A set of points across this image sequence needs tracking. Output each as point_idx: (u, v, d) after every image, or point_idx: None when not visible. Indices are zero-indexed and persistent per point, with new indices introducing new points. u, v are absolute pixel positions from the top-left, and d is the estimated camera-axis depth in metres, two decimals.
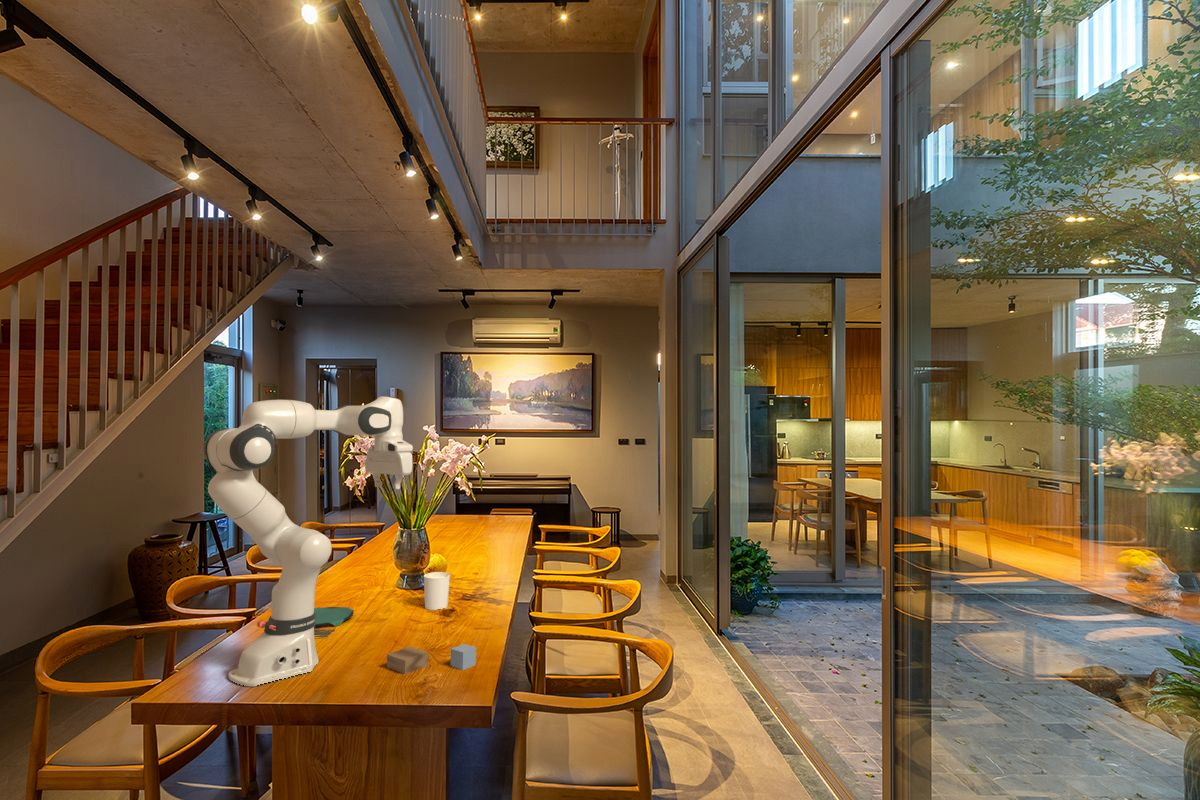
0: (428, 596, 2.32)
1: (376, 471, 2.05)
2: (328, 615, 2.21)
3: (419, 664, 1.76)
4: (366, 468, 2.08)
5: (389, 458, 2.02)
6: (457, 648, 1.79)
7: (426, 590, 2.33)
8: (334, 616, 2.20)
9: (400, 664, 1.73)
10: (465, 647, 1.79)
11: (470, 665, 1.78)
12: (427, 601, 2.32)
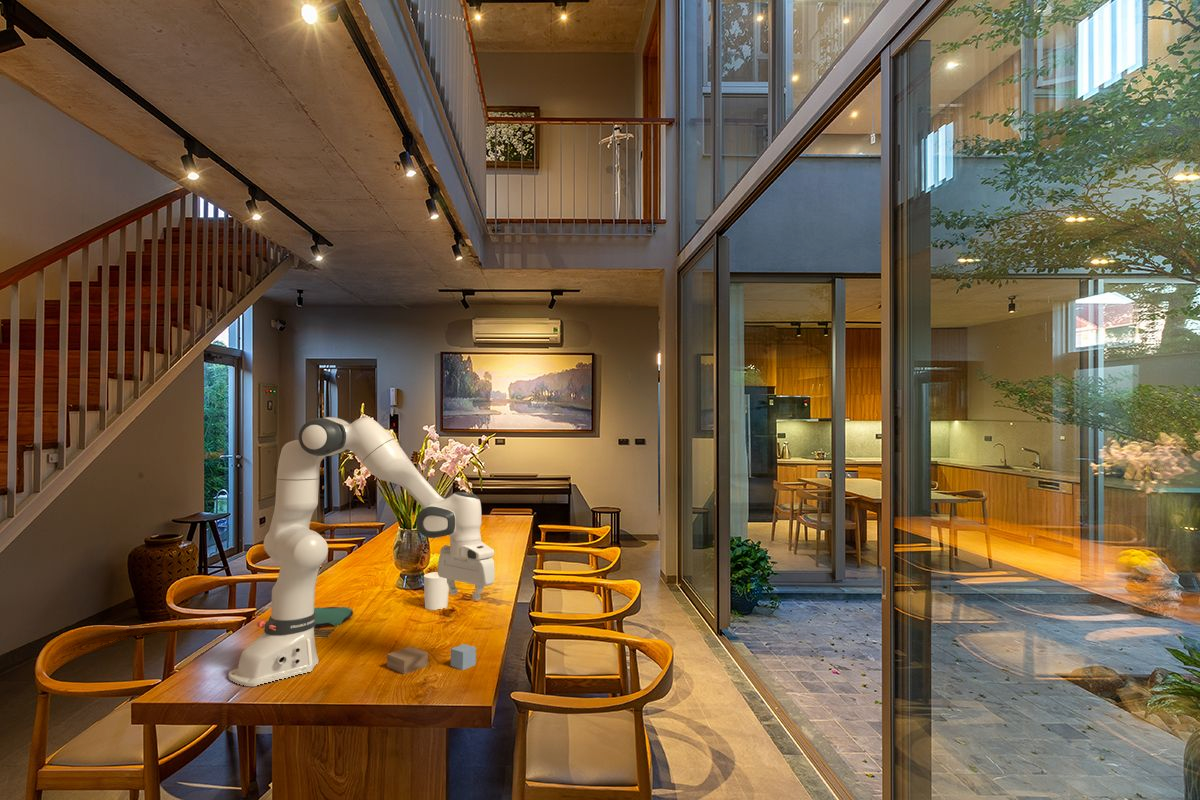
0: (428, 596, 2.32)
1: (452, 578, 1.81)
2: (327, 615, 2.21)
3: (419, 664, 1.76)
4: (439, 572, 1.84)
5: (468, 565, 1.77)
6: (457, 648, 1.79)
7: (426, 590, 2.33)
8: (334, 616, 2.20)
9: (399, 664, 1.73)
10: (465, 647, 1.79)
11: (470, 665, 1.78)
12: (427, 601, 2.32)
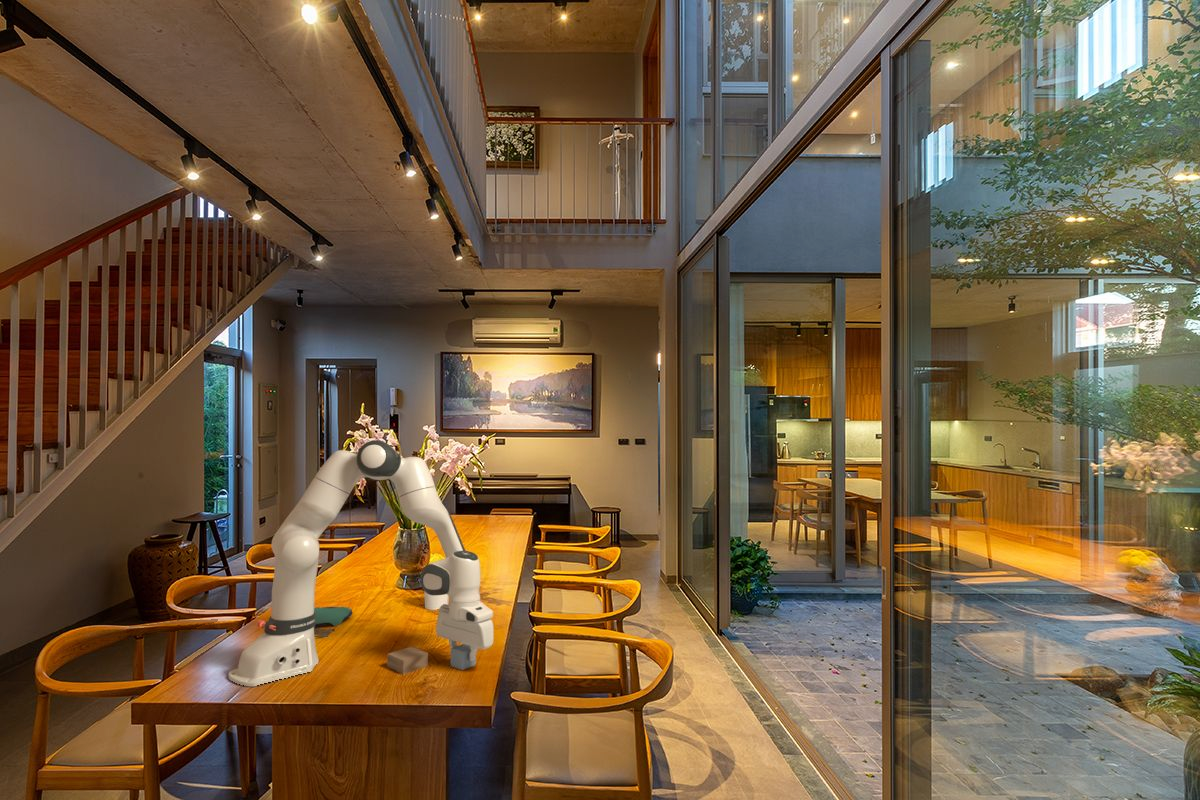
0: (428, 596, 2.32)
1: (450, 638, 1.80)
2: (327, 615, 2.21)
3: (418, 664, 1.76)
4: (437, 632, 1.83)
5: (466, 626, 1.77)
6: (457, 648, 1.79)
7: None
8: (333, 616, 2.20)
9: (399, 664, 1.73)
10: (465, 647, 1.79)
11: (470, 665, 1.78)
12: (427, 601, 2.32)
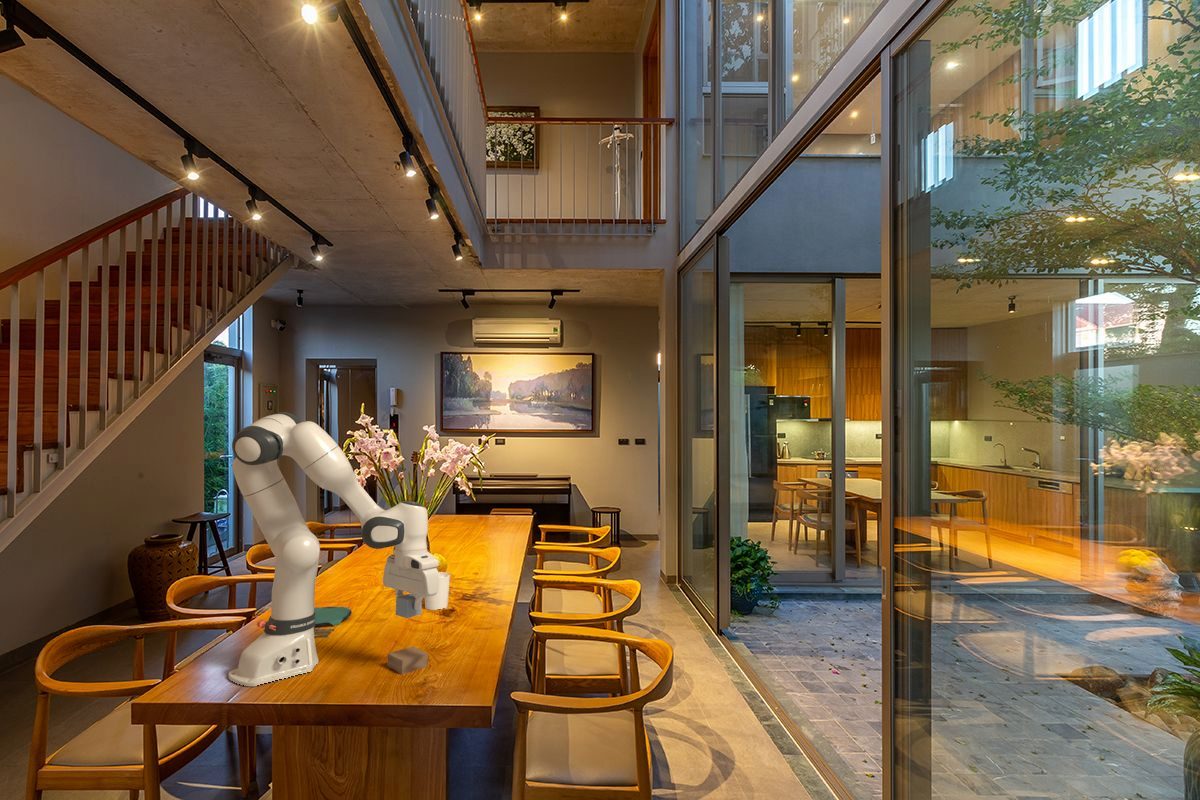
0: None
1: (396, 587, 1.79)
2: (326, 615, 2.21)
3: (418, 664, 1.76)
4: (384, 582, 1.82)
5: (412, 574, 1.76)
6: (402, 597, 1.78)
7: None
8: (332, 616, 2.20)
9: (398, 663, 1.73)
10: (411, 596, 1.79)
11: (415, 614, 1.77)
12: (427, 601, 2.32)
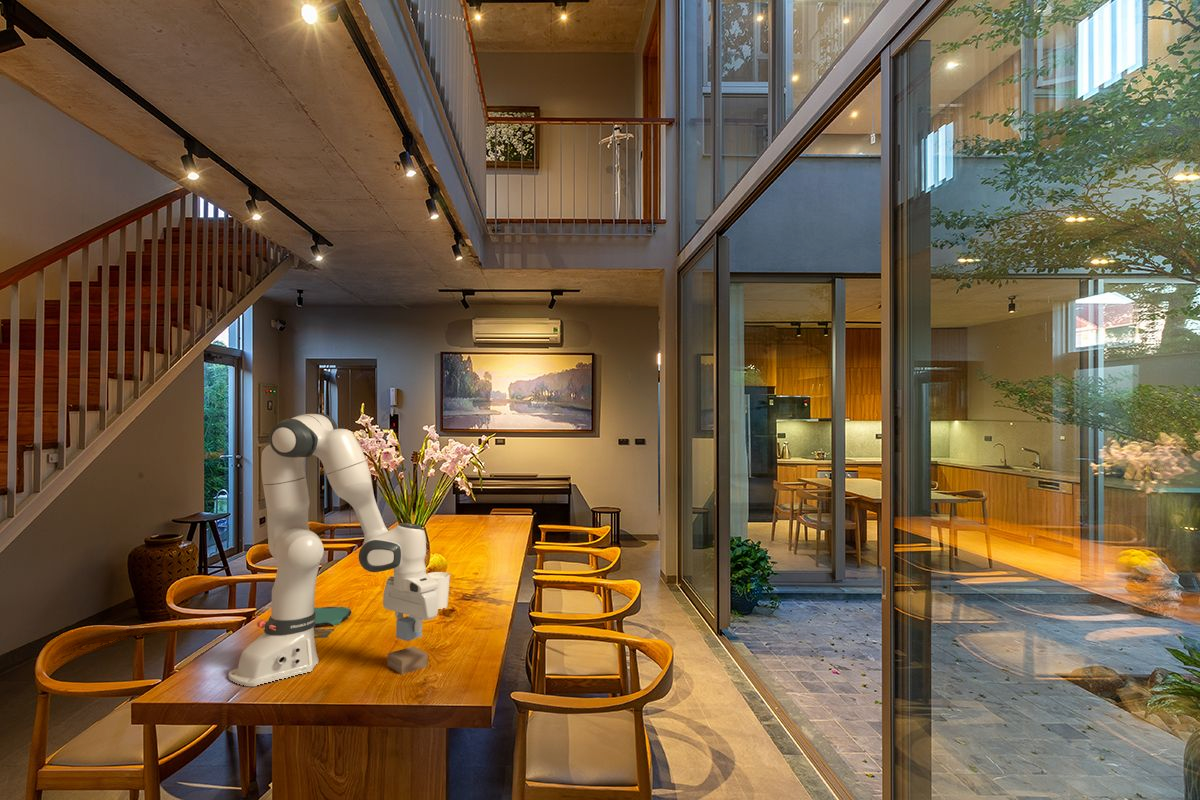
0: None
1: (396, 610, 1.79)
2: (325, 615, 2.21)
3: (418, 665, 1.75)
4: (384, 604, 1.82)
5: (411, 597, 1.75)
6: (403, 619, 1.78)
7: None
8: (332, 616, 2.20)
9: (398, 663, 1.73)
10: (411, 619, 1.78)
11: (416, 636, 1.77)
12: None
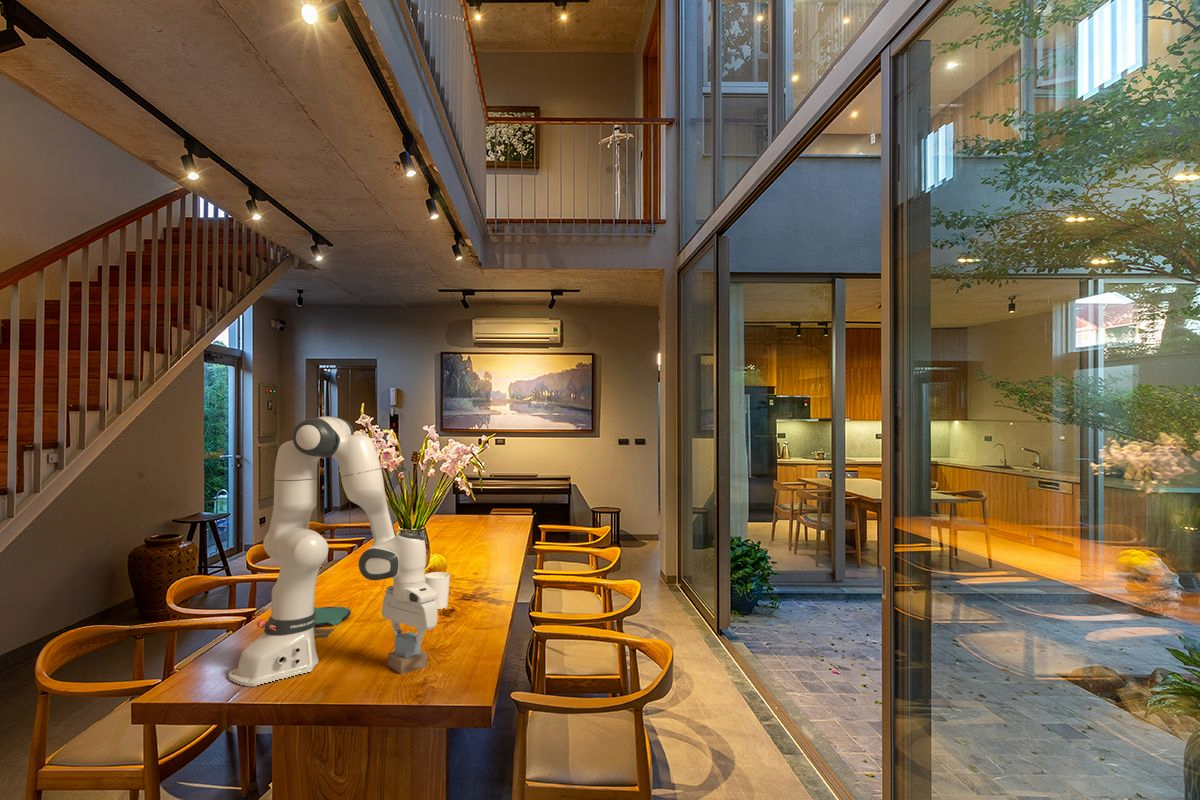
0: None
1: (395, 619, 1.79)
2: (325, 615, 2.21)
3: (417, 665, 1.75)
4: (383, 613, 1.82)
5: (410, 607, 1.75)
6: (401, 635, 1.77)
7: None
8: (332, 616, 2.20)
9: (397, 664, 1.73)
10: (410, 635, 1.78)
11: (414, 653, 1.77)
12: None
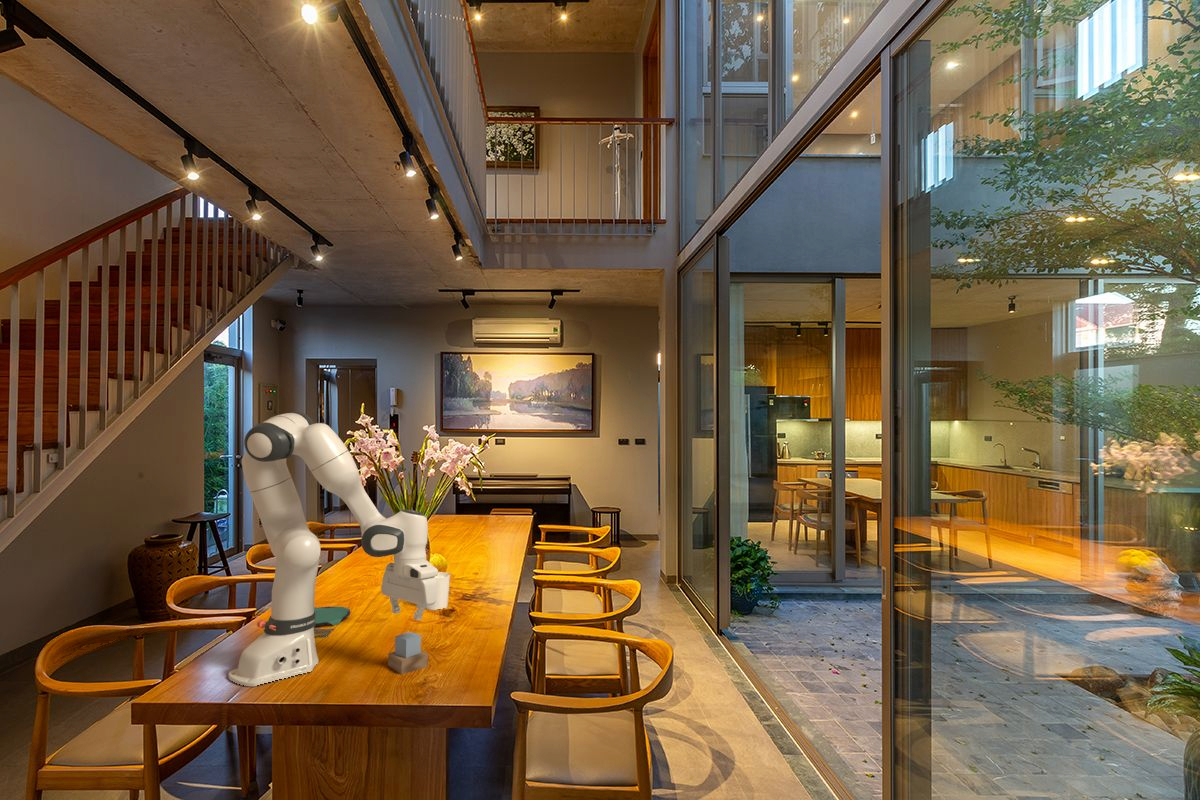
0: None
1: (394, 596, 1.79)
2: (325, 615, 2.21)
3: (418, 665, 1.75)
4: (383, 590, 1.82)
5: (410, 583, 1.76)
6: (401, 636, 1.77)
7: None
8: (331, 615, 2.20)
9: (398, 663, 1.73)
10: (410, 635, 1.78)
11: (414, 653, 1.77)
12: None
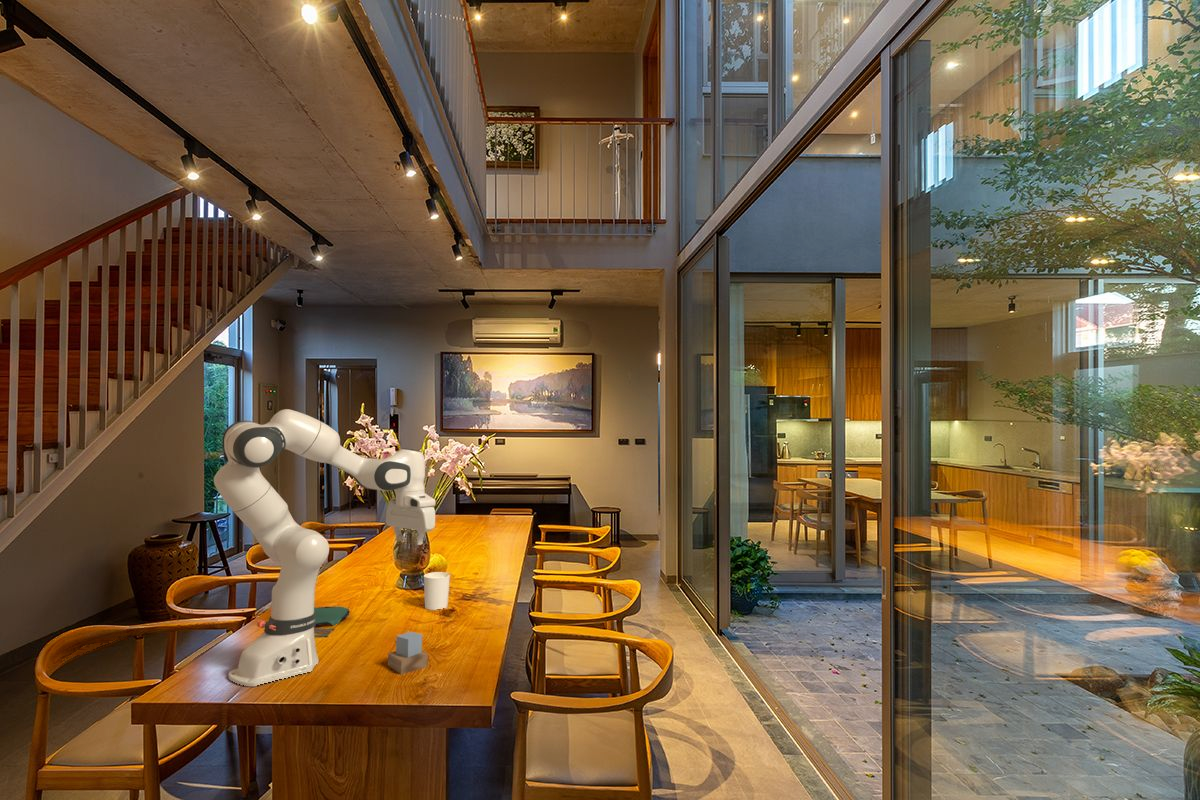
0: (428, 596, 2.32)
1: (397, 525, 2.00)
2: (324, 615, 2.21)
3: (417, 665, 1.75)
4: (387, 521, 2.03)
5: (411, 513, 1.97)
6: (403, 635, 1.78)
7: (426, 590, 2.33)
8: (330, 615, 2.20)
9: (397, 664, 1.73)
10: (411, 635, 1.78)
11: (416, 652, 1.77)
12: (427, 601, 2.32)
